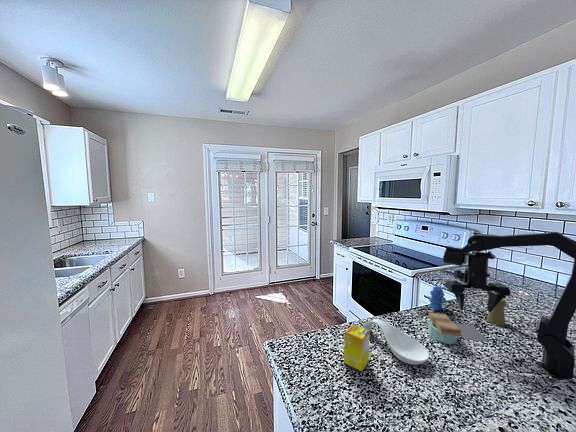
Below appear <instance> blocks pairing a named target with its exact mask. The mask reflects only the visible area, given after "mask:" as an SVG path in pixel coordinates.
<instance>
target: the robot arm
mask: <svg viewBox="0 0 576 432" xmlns="http://www.w3.org/2000/svg"><path fill="white" fill-rule="evenodd" d="M540 246H544V247H545V246H553V247H554V248H556V249H557V250H559V251H561V252H563V253H564V254H566V255H567V256H569V257H571V258H572V259H573V264H572V269H571V275H570V277H569V279H568V281H567V283H566V284H565V287H564V288H563V291H562V293H561V295H560V297H559V299H558V301H557V302H556V305H555V307H554V309H553V311H552V313H551V315H549V316H548V317H546V316H544V315H541V316H540V321H539V322H538V323H537V324H536V327H535V331H534V333H535V334H537V335H536V339H537V341H538V342H539V344H540V345H541V346H543V347H544V348H543V350H542V351H543V352H542V357H541V362H540V361H536V364H538V365H539V366H540V367H541V368H543V369H544V370H545V371H546V372H547V373H548V374H549V375H551V377H552V378H554V379H559V380H565V379H572V378H575V377H576V376H575V375H574V371H575V363H576V360H575V358H576V357H575V356H576V354H575V353H576V352H575V345H573V344H572V342H571V341H570V340H569V339H568V338H567V337H568V336H567V335H568V329H569V325H570V322H571V320H572V319H573V316H574V315H575V312H576V240H573V239H572V238H569V237H567V236H566V235H564V234H563V233H562V232H559V231H550V232H540V233H539V232H537V233H523V234H520V233H519V234H511V235H510V234H508V235H507V234H506V235H500V234H499V235H498V234H489V233H488V234H487V233H478V234H474V235H472V236H470V237H469V238H468V240H467V244H466V245H465V246H463V247H454V246H450V245H448V246H446V247H445V251H444V252H443V253H444V255H443V257H442V258H443V259H442V261H443V263H444V264H448V265H453V266H459V267H463V265H466V264H467V268H466V269H465V270H464V272H462V270H458V269H457V270H456V269H455V270H453V279H457V280H445V282H444V287H445V288H446V289H447V290H448V291H450V292H451V293H452V294H454V297H455V299H456V302H457V304H458V308H459V310H461V311H463V309H464V308H465V307H464V306H465V298H466V294H465V293H464V292H465V290H466V291H467V290H468V291H481V292H487V295H488V299H487V312H488V313H489V312H491V311H492V310H493V309H494V308H495V306H496V305H497V304H498V303H499V302H500V301H501V300H502V299H507V297H511V294H512V290H511V289H510V288H509V287H508V286H507V285H505V284H502V283H499V282H489V283H488V278H490V277H491V274H490V273H488V272H489V269H488V268H489V260H494V259H496V258H497V256H496V255H495V254H494V253H493V252H492V251H491V250H495V249H498V248H512V247H513V248H515V247H518V248H519V247H540ZM483 251H484V252H483ZM485 251H487V252H485ZM472 252H475V253H472ZM458 280H459V281H458ZM575 379H576V378H575Z"/></svg>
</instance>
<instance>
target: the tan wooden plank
mask: <svg viewBox="0 0 576 432" xmlns="http://www.w3.org/2000/svg"><path fill="white" fill-rule="evenodd" d="M428 319H429V320H430V321H432V323H433V324H434V325H435V327H436V328H437V329H438V331H439V332H440V333H441V334H443V335H451V336H458V337H461V336H462V335H461V330H460V329H459V328H458V327H457V326H456V325H455V324H454V323H455V322H454V321H452V319H451V318H450V317H449V316H448V315H447V314H446V313H439V312H428Z"/></svg>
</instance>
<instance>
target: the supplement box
mask: <svg viewBox="0 0 576 432" xmlns="http://www.w3.org/2000/svg"><path fill="white" fill-rule="evenodd" d="M370 336H371V331H370V330H367V329H364V328H363V326H362V327H361V326H358V325H356V324H352V325H351V326H349V327H348V328H347V329H346V330H345V331H344V346H343V347H344V348H343V365H344V366H345V367H346V368H347V367H348V368H349V369H352V370H354V371H355V372H357V373H360V374H362V373H363V372H364V370H365V369H366V368H367V366H368V364H369V361H370V338H371V337H370Z"/></svg>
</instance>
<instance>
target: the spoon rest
mask: <svg viewBox="0 0 576 432" xmlns="http://www.w3.org/2000/svg"><path fill="white" fill-rule="evenodd" d="M373 324H374V325H377V326H378V327H380V329H381V330H382V332H383V335H384V337H385V340H386V342H387V345H388V347H389V349H390V351H391V352H392V354H393V355H394V356H395V357H396V358H397V359H398V360H399V361H401V362H403V363H406V364H409V365H413V366H415V365H416V366H417V365H422V364H424V363H426V362H427V361H428V360H429V359H430V356H431V355H430V351H429V350H428V349H427V347H425V345H424V344H422V343H420V341H417V339H414V338H413V337H411V336H410V335H408V334H406V333H404V331H401V330H400V329H397V327H394V326H393V325H391V324H390V323H388V322H387V321H384V320H382V319H379V318H374V319H371V320H368V321H366V322H365V323H364V324H363V326H362V328H364V329H367V330H370V332H371V331H372V326H373Z"/></svg>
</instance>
